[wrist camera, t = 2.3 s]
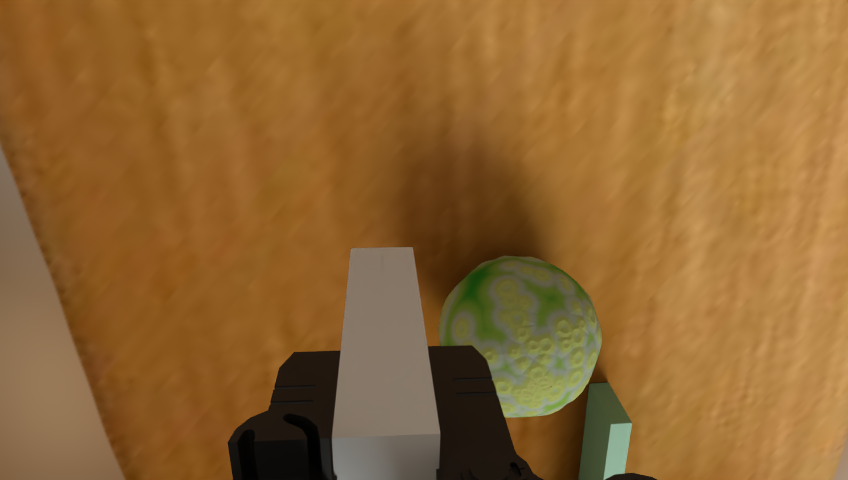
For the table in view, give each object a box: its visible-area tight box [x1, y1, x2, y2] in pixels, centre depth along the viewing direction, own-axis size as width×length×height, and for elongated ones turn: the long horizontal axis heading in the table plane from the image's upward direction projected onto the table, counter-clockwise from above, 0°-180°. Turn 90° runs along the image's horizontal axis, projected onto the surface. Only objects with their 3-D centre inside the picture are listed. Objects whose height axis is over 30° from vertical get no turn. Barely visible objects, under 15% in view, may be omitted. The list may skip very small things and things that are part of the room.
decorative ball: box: [438, 256, 602, 418], centre depth 36 cm, size 10×10×10 cm
